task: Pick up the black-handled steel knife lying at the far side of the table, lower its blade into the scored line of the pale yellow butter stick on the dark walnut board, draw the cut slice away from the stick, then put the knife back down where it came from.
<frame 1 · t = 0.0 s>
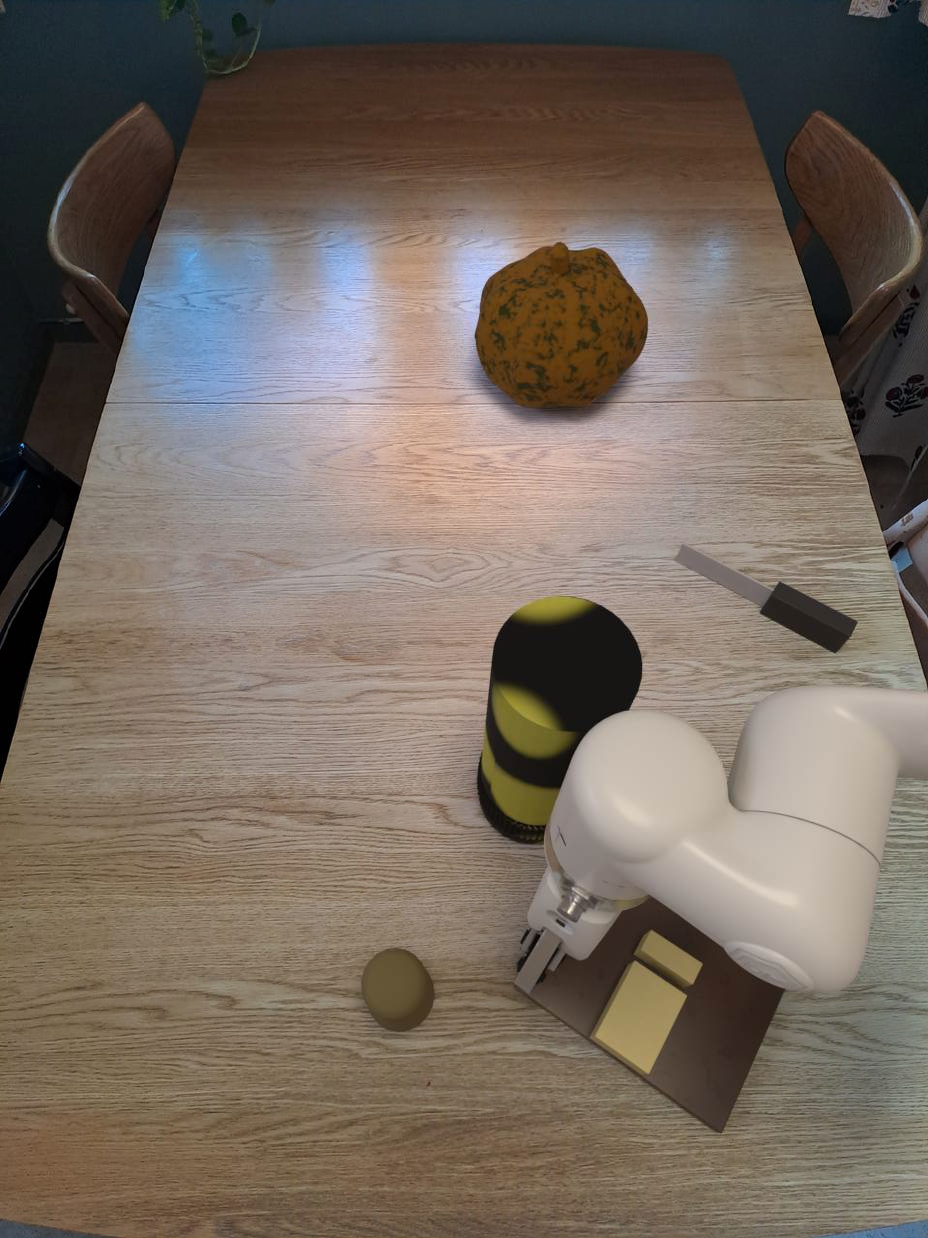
hand: (572, 896, 64), 15 cm above the table, tool pointing down, fingers open, 9 cm apart
butter stick: (634, 1018, 72), point 1 cm above the table, touching cutting board
cutting board: (654, 974, 75), on the table
container: (529, 793, 83), on the table
cork: (400, 994, 74), on the table
knife: (759, 604, 94), on the table
decorative pumpkin: (553, 376, 111), on the table
butter slice: (663, 961, 75), point 1 cm above the table, touching cutting board
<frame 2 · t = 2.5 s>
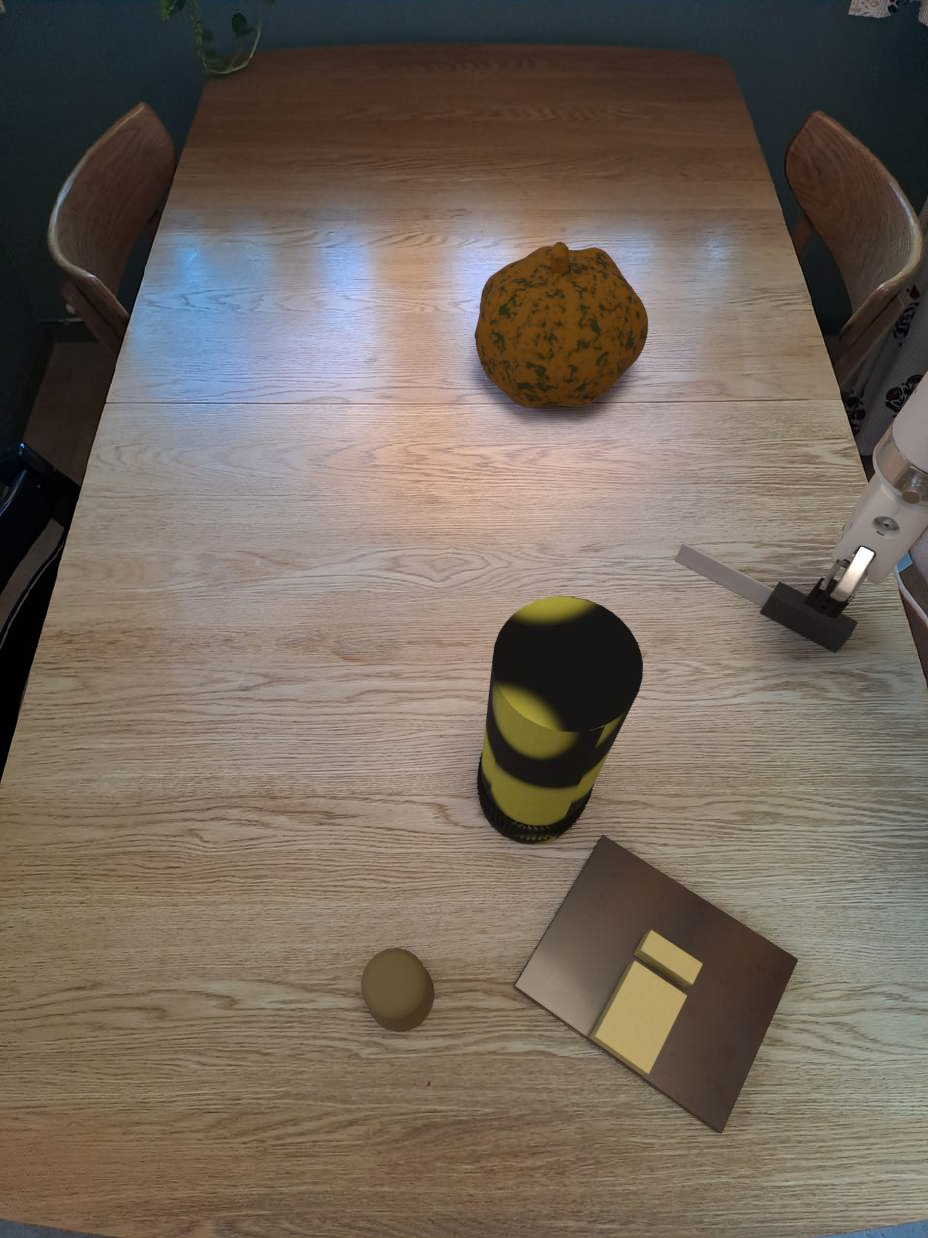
hand: (839, 572, 80), 14 cm above the table, tool pointing down, fingers open, 9 cm apart
nothing on the table moved.
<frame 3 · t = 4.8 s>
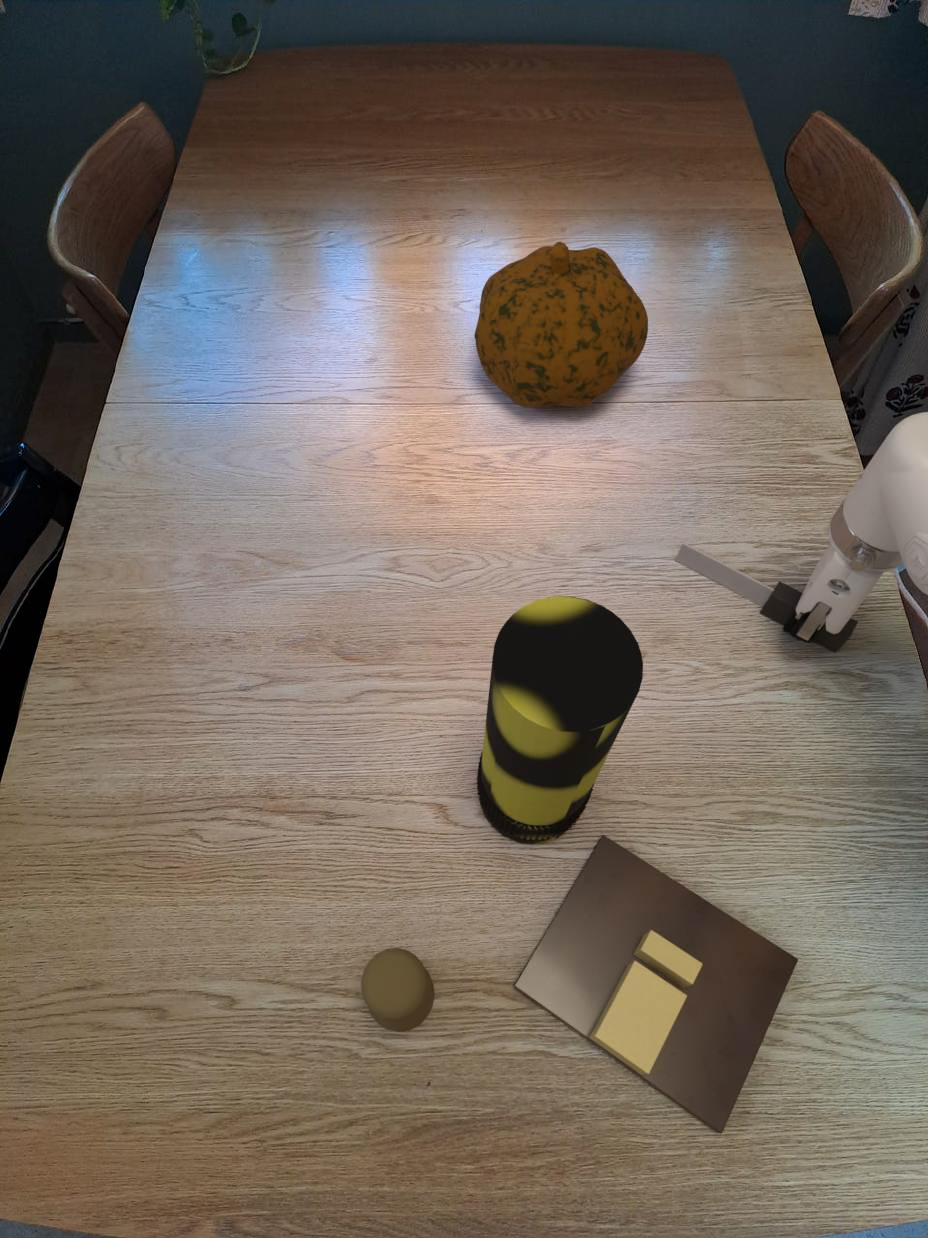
hand: (802, 624, 93), 0 cm above the table, tool pointing down, fingers closed on knife, 2 cm apart
knife: (759, 603, 94), on the table, touching gripper
everything else where it was.
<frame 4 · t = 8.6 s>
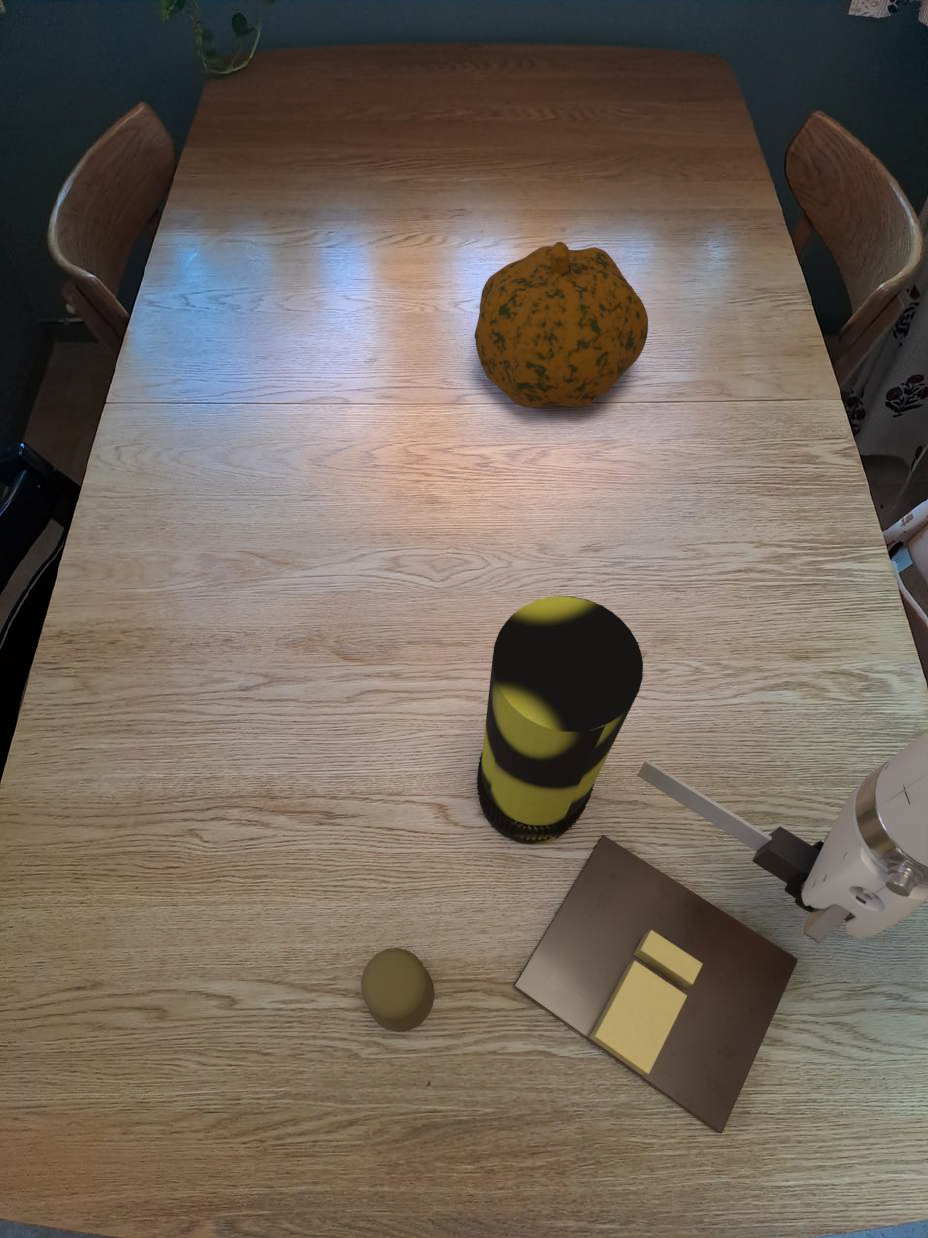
hand: (811, 883, 66), 14 cm above the table, tool pointing down, fingers closed on knife
knife: (751, 846, 68), point 14 cm above the table, touching gripper
everything else where it was.
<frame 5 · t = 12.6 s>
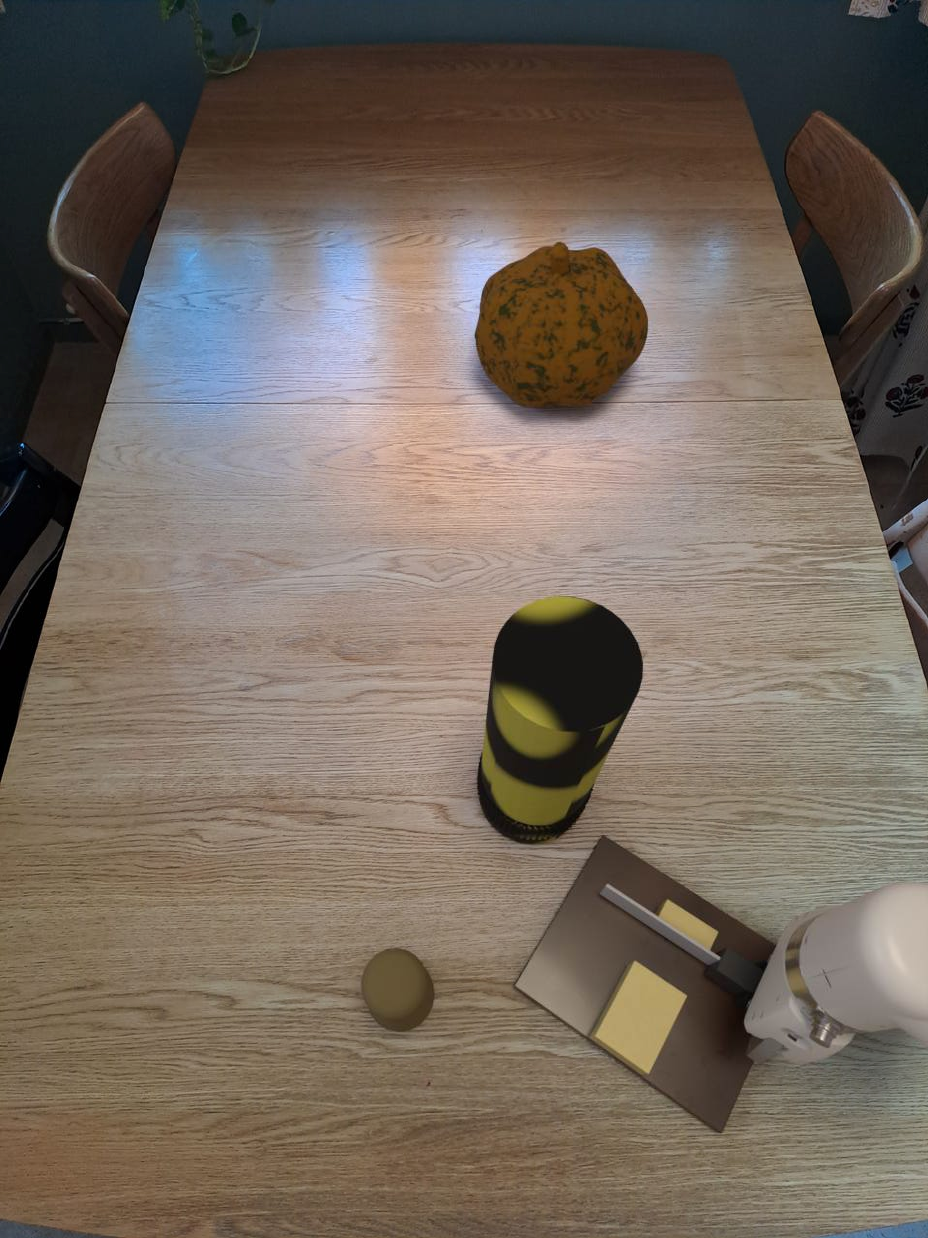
hand: (758, 995, 73), 2 cm above the table, tool pointing down, fingers closed on knife, 2 cm apart
knife: (703, 960, 74), point 2 cm above the table, touching butter slice, gripper
butter slice: (679, 931, 76), point 2 cm above the table, touching cutting board, knife
everything else where it was.
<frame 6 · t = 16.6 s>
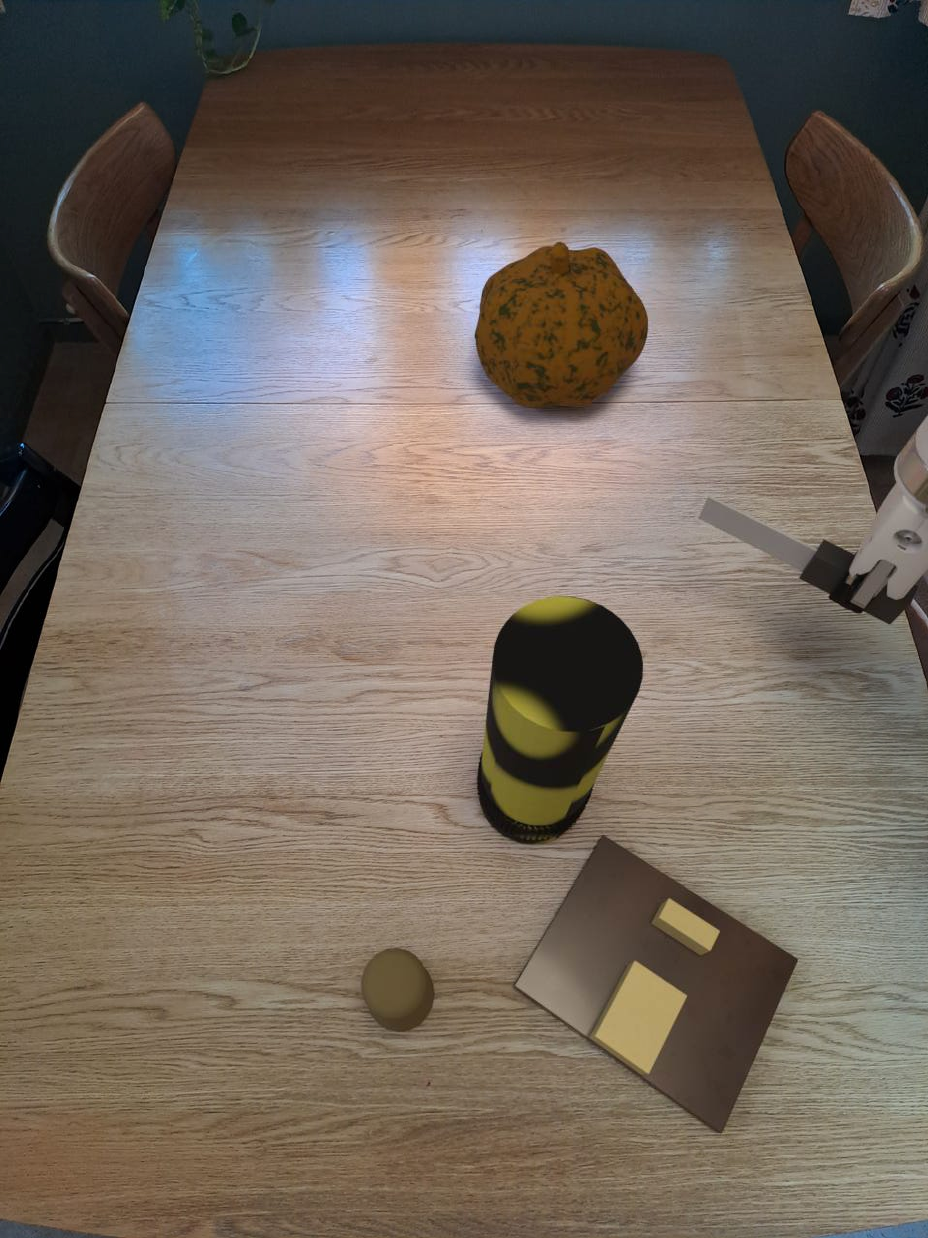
hand: (850, 592, 78), 14 cm above the table, tool pointing down, fingers closed on knife
knife: (798, 567, 80), point 14 cm above the table, touching gripper
butter slice: (680, 930, 76), point 1 cm above the table, touching cutting board
everything else where it was.
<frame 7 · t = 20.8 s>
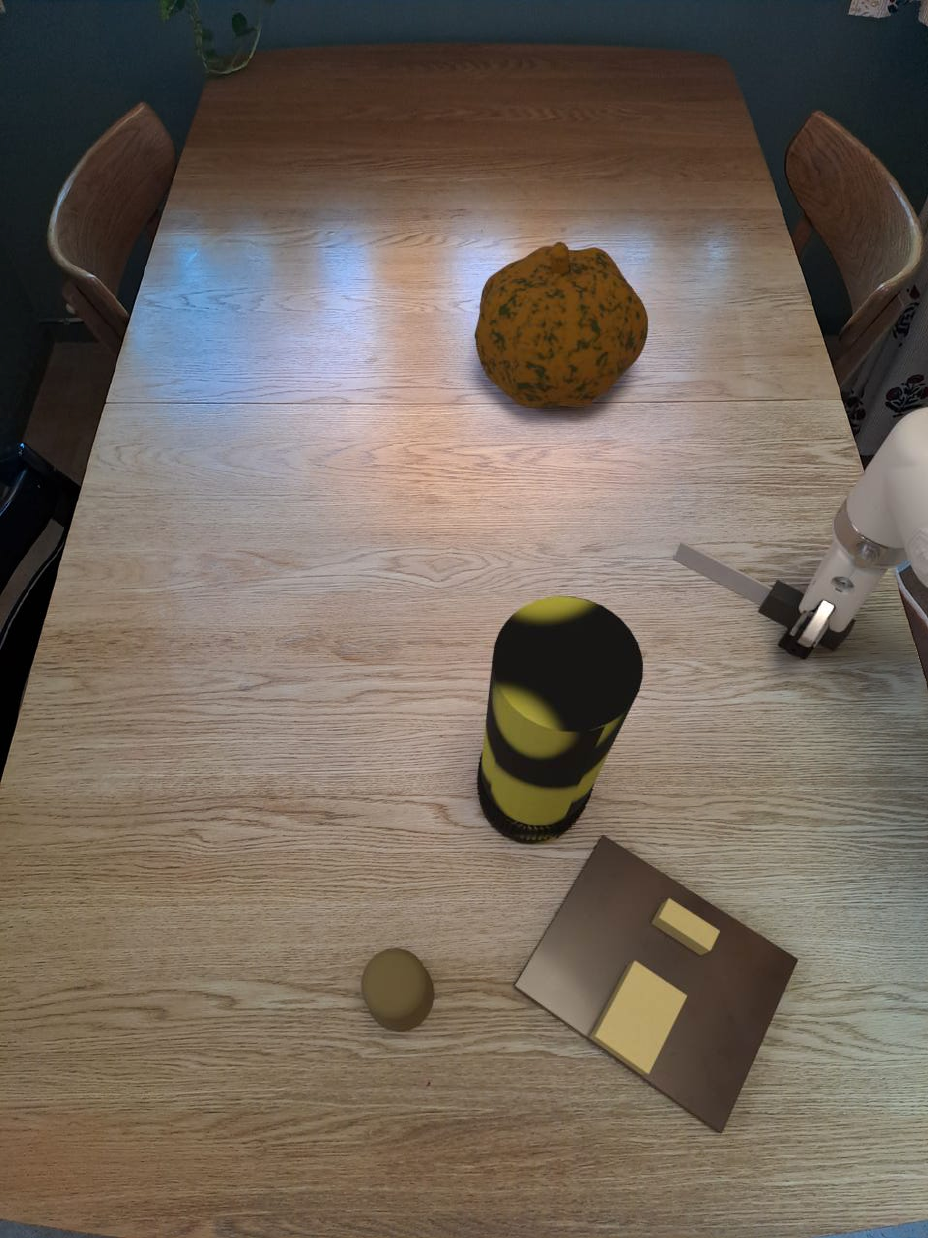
hand: (809, 618, 91), 2 cm above the table, tool pointing down, fingers open, 9 cm apart
knife: (757, 602, 94), on the table
everything else where it was.
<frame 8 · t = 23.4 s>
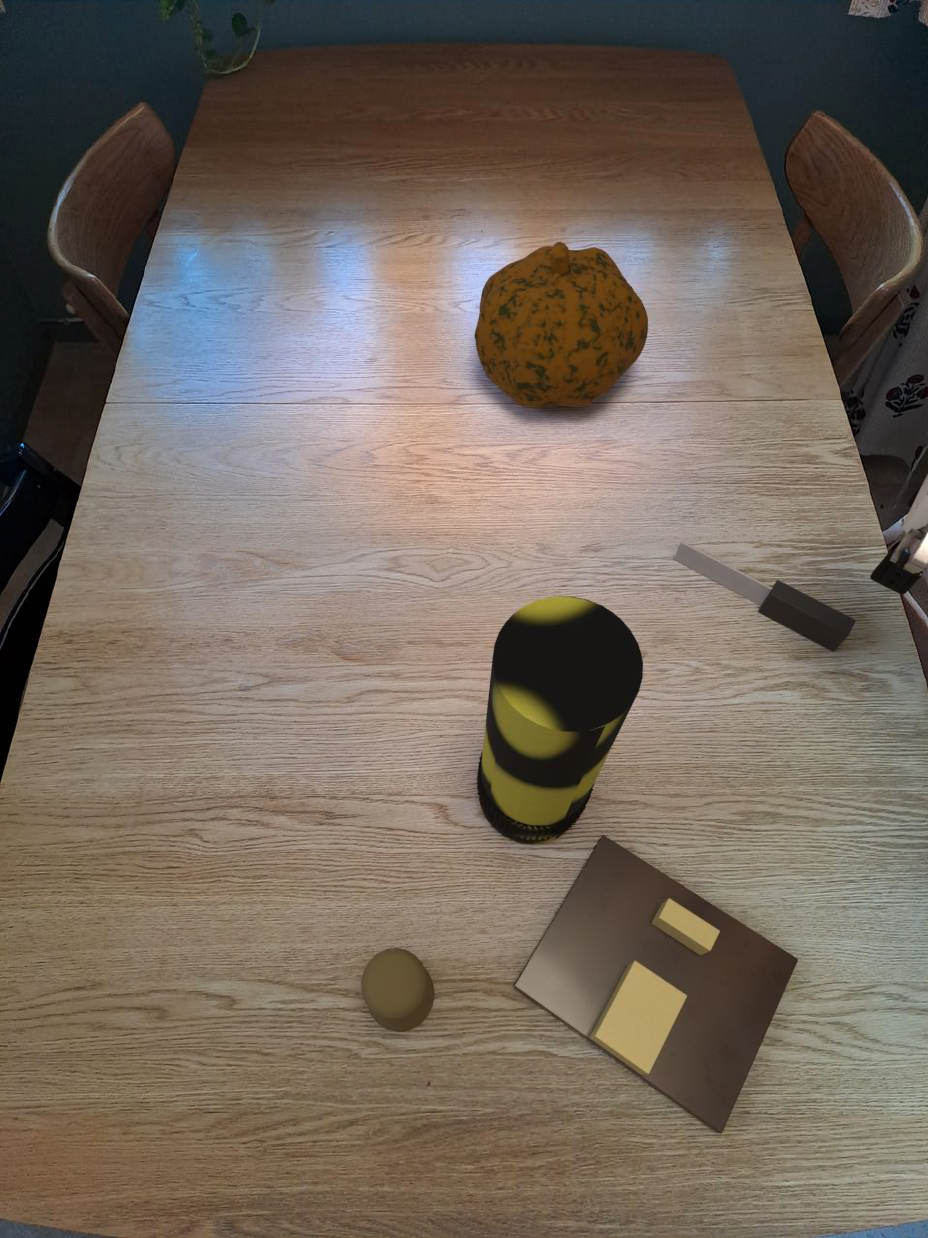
hand: (905, 546, 76), 18 cm above the table, tool pointing down, fingers open, 9 cm apart
nothing on the table moved.
at the end: butter slice inside the target area on the cutting board (0.8 cm from its centre), point 1.5 cm above the cutting board's base; butter stick moved 0.0 cm from its start; the gripper is holding nothing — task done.
